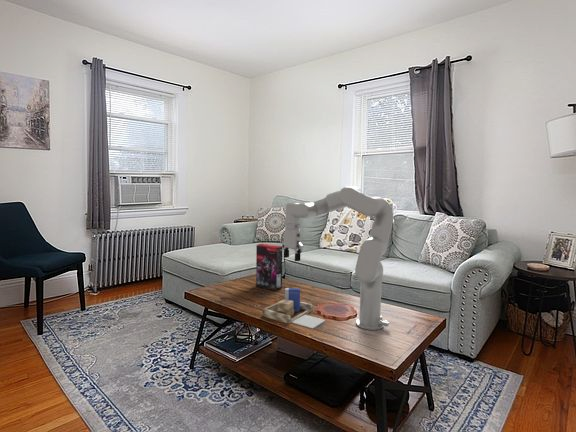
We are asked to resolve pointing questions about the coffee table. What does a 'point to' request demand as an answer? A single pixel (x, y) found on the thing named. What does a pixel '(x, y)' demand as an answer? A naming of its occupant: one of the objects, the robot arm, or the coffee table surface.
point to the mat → (308, 321)
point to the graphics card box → (269, 266)
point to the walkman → (293, 297)
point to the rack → (271, 313)
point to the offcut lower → (288, 313)
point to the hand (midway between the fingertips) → (291, 259)
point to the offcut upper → (285, 305)
